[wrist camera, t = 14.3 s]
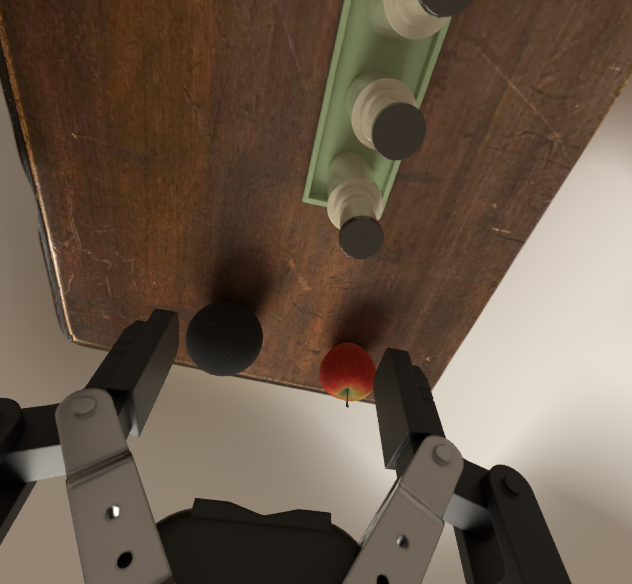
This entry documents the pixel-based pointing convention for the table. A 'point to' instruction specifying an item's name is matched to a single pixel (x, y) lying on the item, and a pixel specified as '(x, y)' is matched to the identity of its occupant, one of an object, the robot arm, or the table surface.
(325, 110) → the tray
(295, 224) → the table surface
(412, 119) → the bottle
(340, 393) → the apple
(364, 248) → the bottle
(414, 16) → the bottle
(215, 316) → the black ball
